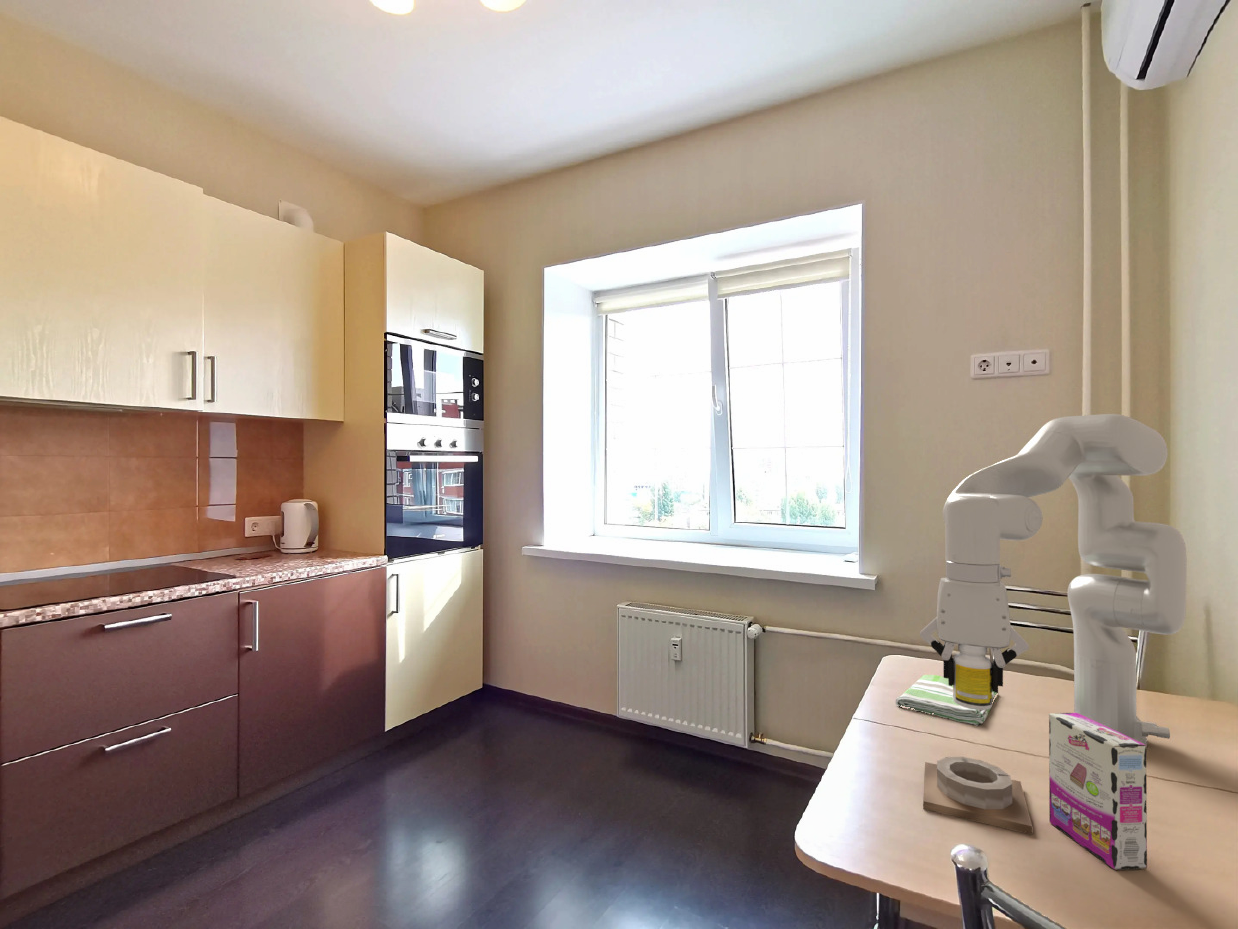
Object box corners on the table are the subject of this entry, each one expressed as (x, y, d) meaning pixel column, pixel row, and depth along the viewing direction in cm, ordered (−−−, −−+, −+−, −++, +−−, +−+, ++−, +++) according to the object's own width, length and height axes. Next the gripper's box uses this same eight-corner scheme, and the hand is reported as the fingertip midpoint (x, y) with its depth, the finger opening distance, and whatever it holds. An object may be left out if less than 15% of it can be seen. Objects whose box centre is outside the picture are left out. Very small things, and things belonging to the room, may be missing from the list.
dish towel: (893, 708, 133) (893, 692, 133) (919, 680, 151) (919, 666, 151) (982, 730, 122) (982, 712, 122) (1000, 697, 140) (1000, 681, 140)
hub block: (1020, 788, 99) (1020, 763, 99) (1032, 834, 86) (1032, 805, 86) (925, 768, 105) (925, 744, 105) (923, 808, 93) (923, 781, 93)
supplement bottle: (998, 712, 93) (997, 649, 93) (959, 709, 94) (959, 646, 94) (984, 699, 98) (984, 639, 98) (948, 696, 99) (948, 637, 99)
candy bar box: (1150, 870, 79) (1149, 745, 79) (1115, 872, 78) (1114, 746, 78) (1078, 820, 90) (1077, 710, 90) (1047, 822, 90) (1046, 711, 90)
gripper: (1033, 574, 95) (1033, 688, 95) (913, 565, 103) (913, 671, 103) (1040, 581, 89) (1041, 704, 89) (911, 572, 97) (911, 685, 97)
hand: (972, 685), depth 96 cm, fingers closed on supplement bottle, 5 cm apart
